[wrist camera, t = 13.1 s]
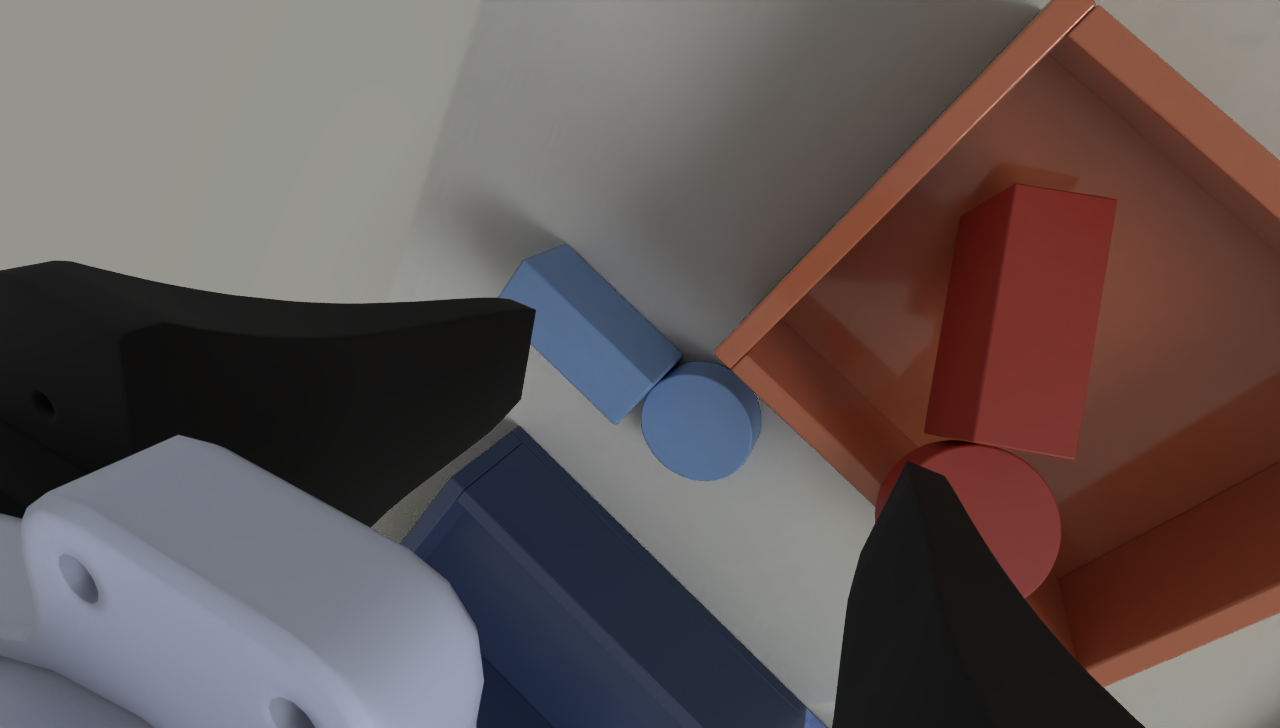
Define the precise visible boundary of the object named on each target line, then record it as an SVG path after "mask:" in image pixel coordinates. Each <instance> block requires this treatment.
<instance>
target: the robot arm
mask: <svg viewBox="0 0 1280 728" xmlns="http://www.w3.org/2000/svg"><path fill="white" fill-rule="evenodd" d="M535 314H536V309H533V308H531V307H528V306H526V305H524V304H521V303H519V302H516V301H514V300H511V299H505V298H468V299H451V300H435V301H419V302H396V303H367V304H336V303H334V304H333V303H311V302H310V303H309V302H293V301H283V300H274V299H264V298H253V297H245V296H236V295H228V294H222V293H215V292H209V291H203V290H197V289H191V288H186V287H180V286H174V285H169V284H164V283H159V282H154V281H150V280H145V279H141V278H137V277H133V276H128V275H124V274H120V273H115V272H112V271H107V270H103V269H99V268H95V267H90V266H86V265H83V264H79V263H75V262H70V261H50V262H44V263H39V264H34V265H28V266H23V267H17V268H12V269H7V270H1V271H0V728H476V721H477V716H478V711H479V705H480V700H481V694H482V689H483V684H484V677H483V669H482V661H481V653H480V646H479V638H478V632H477V628H476V625H475V624H474V622H473V620H472V619H471V617H470V615H469V614H468V612H467V610H466V609H465V607H464V606H463V604H462V602H461V601H460V599H459V597H458V596H457V594H456V593H455V591H454V589H453V588H452V586H451V584H450V583H449V581H447V580H446V579H445V578H444V577H442V576H441V575H440V574H439V573H438V572H436V571H435V570H434V569H433V568H431V567H430V566H429V565H428V564H427V563H425V562H424V561H423V560H422V559H420V558H419V557H418V556H417V555H416V554H414V553H413V552H412V551H411V550H409V549H408V548H406V547H405V546H403V545H401V544H399V543H397V542H395V541H394V540H392V539H390V538H388V537H386V536H385V535H383V534H381V533H379V532H377V531H375V530H374V529H372V528H371V527H372V526H373V525H374V524H375V523H376V522H377V521H378V520H379V519H380V518H381V517H382V516H383V515H384V514H385V513H386V512H387V511H388V510H390V509H391V508H392V507H393V506H394V505H395V504H397V503H398V502H399V501H400V500H402V499H403V498H404V497H405V496H406V495H408V494H409V493H410V492H411V491H413V490H414V489H415V488H417V487H418V486H419V485H421V484H422V483H423V482H425V481H426V480H427V479H429V478H430V477H431V476H433V475H434V474H435V473H437V472H438V471H439V470H441V469H442V468H443V467H445V466H446V465H447V464H449V463H450V462H451V461H453V460H454V459H455V458H457V457H458V456H459V455H461V454H462V453H463V452H464V451H466V450H467V449H468V448H470V447H471V446H472V445H474V444H475V443H476V442H477V441H479V440H480V439H481V438H483V437H484V436H485V435H486V434H488V433H489V432H490V431H491V430H492V429H493V428H494V427H495V426H496V425H497V424H498V423H499V422H500V421H501V420H502V419H503V418H504V417H505V416H506V415H507V414H508V413H509V412H510V410H511V409H512V408H513V407H514V406H515V405H516V404H517V403H518V402H519V401H520V400H521V395H522V389H523V384H524V378H525V372H526V366H527V361H528V355H529V349H530V343H531V338H532V332H533V326H534V320H535ZM832 728H1145V727H1144V726H1143V725H1142V724H1141V723H1140V722H1139V721H1137V720H1136V719H1135V718H1134V717H1133V716H1132V715H1131V714H1130V713H1129V712H1128V711H1127V710H1126V709H1125V708H1124V707H1123V706H1122V705H1121V704H1120V703H1119V702H1118V701H1117V700H1116V699H1115V698H1114V697H1113V696H1112V695H1111V694H1110V693H1109V692H1108V691H1107V690H1105V689H1104V688H1103V687H1102V686H1101V685H1100V684H1099V683H1098V682H1097V681H1096V680H1095V679H1094V678H1093V677H1092V676H1091V675H1090V674H1089V673H1088V672H1087V670H1086V669H1085V668H1084V667H1083V666H1082V665H1081V664H1080V663H1079V662H1078V661H1077V660H1076V659H1075V658H1074V657H1073V656H1072V655H1071V653H1070V652H1069V651H1068V650H1067V649H1066V648H1065V647H1064V645H1063V644H1062V643H1061V642H1060V641H1059V640H1058V639H1057V637H1056V636H1055V635H1054V634H1053V633H1052V632H1051V630H1050V629H1049V628H1048V627H1047V626H1046V625H1045V624H1044V622H1043V621H1042V620H1041V619H1040V618H1039V616H1038V615H1037V614H1036V613H1035V611H1034V610H1033V609H1032V608H1031V606H1030V605H1029V604H1028V603H1027V601H1026V600H1025V599H1024V597H1023V596H1022V595H1021V593H1020V592H1019V590H1018V589H1017V588H1016V586H1015V585H1014V584H1013V582H1012V581H1011V579H1010V578H1009V577H1008V575H1007V574H1006V573H1005V571H1004V570H1003V568H1002V567H1001V565H1000V564H999V562H998V561H997V559H996V558H995V556H994V555H993V553H992V552H991V550H990V549H989V547H988V546H987V544H986V543H985V541H984V539H983V538H982V536H981V535H980V533H979V531H978V530H977V528H976V526H975V525H974V523H973V522H972V520H971V518H970V516H969V515H968V513H967V511H966V510H965V508H964V506H963V505H962V503H961V501H960V500H959V498H958V496H957V494H956V493H955V491H954V489H953V488H952V486H951V484H950V483H949V481H948V480H947V478H946V477H945V476H944V475H942V474H939V473H937V472H934V471H932V470H929V469H927V468H924V467H922V466H919V465H917V464H914V463H912V462H910V461H907V462H906V464H905V466H904V468H903V470H902V472H901V474H900V476H899V478H898V480H897V482H896V483H895V485H894V487H893V489H892V491H891V493H890V495H889V497H888V499H887V501H886V503H885V505H884V507H883V509H882V511H881V513H880V515H879V517H878V519H877V521H876V523H875V525H874V527H873V529H872V531H871V533H870V535H869V537H868V539H867V541H866V543H865V545H864V547H863V549H862V551H861V553H860V557H859V561H858V564H857V568H856V571H855V575H854V579H853V582H852V586H851V590H850V594H849V598H848V603H847V610H846V618H845V626H844V634H843V643H842V651H841V660H840V668H839V677H838V686H837V694H836V703H835V711H834V719H833V725H832Z"/></svg>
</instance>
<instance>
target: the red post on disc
mask: <svg viewBox="0 0 1280 728" xmlns="http://www.w3.org/2000/svg"><path fill="white" fill-rule="evenodd" d="M1116 207H1117V199H1114V198H1108V197H1101V196H1095V195H1089V194H1082V193H1076V192H1070V191H1063V190H1057V189H1051V188H1044V187H1038V186H1031V185H1025V184H1019V183H1016V184H1013V185H1012V186H1010V187H1008V188H1007V189H1005V190H1003V191H1002V192H1000V193H998V194H996V195H995V196H993V197H991V198H990V199H988V200H986V201H985V202H983V203H981V204H980V205H978V206H976V207H975V208H973V209H971V210H970V211H968V212H966V213H964V214H963V215H961V216H960V219H959V225H958V231H957V237H956V243H955V249H954V255H953V261H952V267H951V273H950V279H949V285H948V290H947V296H946V302H945V308H944V314H943V320H942V326H941V332H940V338H939V344H938V350H937V356H936V362H935V368H934V373H933V379H932V385H931V391H930V397H929V403H928V409H927V415H926V421H925V427H924V433H925V434H930V435H935V436H940V437H946V438H951V439H956V440H944V441H937V442H933V443H929V444H926V445H923V446H921V447H919V448H917V449H915V450H913V451H911V452H910V453H908V454H907V455H906V456H904V457H903V458H902V459H900V460H899V461H898V462H897V463H896V465H895V466H894V467H893V468H892V469H891V470H890V472H889V473H888V475H887V476H886V478H885V480H884V482H883V483H882V486H881V488H880V491H879V493H878V498H877V502H876V509H875V523H876V521H877V519H878V517H879V515H880V513H881V511H882V509H883V507H884V505H885V503H886V501H887V499H888V497H889V495H890V493H891V491H892V489H893V487H894V485H895V483H896V482H897V480H898V478H899V476H900V474H901V472H902V470H903V468H904V466H905V464H906V462H907V461H910V462H912V463H914V464H917V465H919V466H922V467H924V468H927V469H929V470H932V471H934V472H937V473H939V474H942V475H944V476H945V477H946V478H947V480H948V481H949V483H950V484H951V486H952V488H953V489H954V491H955V493H956V494H957V496H958V498H959V500H960V501H961V503H962V505H963V506H964V508H965V510H966V511H967V513H968V515H969V516H970V518H971V520H972V522H973V523H974V525H975V526H976V528H977V530H978V531H979V533H980V535H981V536H982V538H983V539H984V541H985V543H986V544H987V546H988V547H989V549H990V550H991V552H992V553H993V555H994V556H995V558H996V559H997V561H998V562H999V564H1000V565H1001V567H1002V568H1003V570H1004V571H1005V573H1006V574H1007V575H1008V577H1009V578H1010V579H1011V581H1012V582H1013V584H1014V585H1015V586H1016V588H1017V589H1018V590H1019V592H1020V593H1021V595H1022V596H1023V597H1024V598H1026V597H1027V596H1029V595H1030V594H1031V593H1032V592H1034V591H1035V590H1036V589H1037V588H1038V587H1039V586H1040V585H1041V584H1042V582H1043V581H1044V580H1045V578H1046V577H1047V576H1048V574H1049V573H1050V571H1051V569H1052V567H1053V565H1054V563H1055V560H1056V558H1057V555H1058V551H1059V547H1060V540H1061V520H1060V515H1059V510H1058V507H1057V504H1056V500H1055V498H1054V496H1053V494H1052V492H1051V490H1050V488H1049V487H1048V485H1047V483H1046V482H1045V480H1044V479H1043V478H1042V477H1041V475H1040V474H1039V473H1038V472H1037V471H1036V470H1035V469H1034V468H1033V467H1032V466H1031V465H1030V464H1028V463H1027V462H1026V461H1024V460H1023V459H1022V458H1020V457H1018V456H1017V455H1015V454H1013V453H1011V452H1009V451H1006V450H1004V449H1001V448H1005V449H1011V450H1016V451H1022V452H1027V453H1033V454H1039V455H1044V456H1050V457H1055V458H1061V459H1067V460H1075V458H1076V452H1077V446H1078V440H1079V434H1080V427H1081V421H1082V415H1083V409H1084V403H1085V397H1086V391H1087V385H1088V378H1089V372H1090V366H1091V360H1092V354H1093V348H1094V342H1095V336H1096V329H1097V323H1098V317H1099V311H1100V305H1101V299H1102V293H1103V286H1104V280H1105V274H1106V268H1107V262H1108V256H1109V250H1110V244H1111V237H1112V231H1113V225H1114V219H1115V213H1116ZM998 447H1000V448H998Z"/></svg>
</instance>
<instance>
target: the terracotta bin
mask: <svg viewBox="0 0 1280 728" xmlns="http://www.w3.org/2000/svg"><path fill="white" fill-rule="evenodd" d="M1095 5H1096V3H1095V1H1094V0H1051V1H1050V2H1049V3H1048V4H1047V5H1046V6H1045V7H1043V8H1042V9H1041V10H1040V11H1039V12H1038V14H1037V15H1036V16H1035V17H1034V18H1033V19H1032V20H1031V21H1030V22H1029V23H1028V24H1027V25H1026V26H1025V27H1024V28H1023V29H1022V30H1021V31H1020V32H1019V33H1018V34H1017V35H1016V36H1015V37H1014V38H1013V39H1012V41H1011V42H1010V43H1009V44H1008V45H1007V46H1006V47H1005V48H1004V49H1003V50H1002V51H1001V52H1000V53H999V54H998V55H997V56H996V57H995V58H994V59H993V60H992V61H991V62H990V63H989V64H988V65H987V66H986V68H985V69H984V70H983V71H982V72H981V73H980V74H979V75H978V76H977V77H976V78H975V79H974V80H973V81H972V82H971V83H970V84H969V85H968V86H967V87H966V88H965V89H964V90H963V91H962V92H961V94H960V95H959V96H958V97H957V98H956V99H955V100H954V101H953V102H952V103H951V104H950V105H949V106H948V107H947V108H946V109H945V110H944V111H943V112H942V113H941V114H940V115H939V116H938V117H937V118H936V119H935V121H934V122H933V123H932V124H931V125H930V126H929V127H928V128H927V129H926V130H925V131H924V132H923V133H922V134H921V135H920V136H919V137H918V138H917V139H916V140H915V141H914V142H913V143H912V144H911V145H910V146H909V148H908V149H907V150H906V151H905V152H904V153H903V154H902V155H901V156H900V157H899V158H898V159H897V160H896V161H895V162H894V163H893V164H892V165H891V166H890V167H889V168H888V169H887V170H886V171H885V172H884V173H883V175H882V176H881V177H880V178H879V179H878V180H877V181H876V182H875V183H874V184H873V185H872V186H871V187H870V188H869V189H868V190H867V191H866V192H865V193H864V194H863V195H862V196H861V197H860V198H859V199H858V200H857V202H856V203H855V204H854V205H853V206H852V207H851V208H850V209H849V210H848V211H847V212H846V213H845V214H844V215H843V216H842V217H841V218H840V219H839V220H838V221H837V222H836V223H835V224H834V225H833V226H832V227H831V229H830V230H829V231H828V232H827V233H826V234H825V235H824V236H823V237H822V238H821V239H820V240H819V241H818V242H817V243H816V244H815V245H814V246H813V247H812V248H811V249H810V250H809V251H808V252H807V253H806V254H805V256H804V257H803V258H802V259H801V260H800V261H799V262H798V263H797V264H796V265H795V266H794V267H793V268H792V269H791V270H790V271H789V272H788V273H787V274H786V275H785V276H784V277H783V278H782V279H781V280H780V281H779V283H778V284H777V285H776V286H775V287H774V288H773V289H772V290H771V291H770V292H769V293H768V294H767V295H766V296H765V297H764V298H763V299H762V300H761V301H760V302H759V303H758V304H757V305H756V306H755V307H754V308H753V310H752V311H751V312H750V313H749V314H748V315H747V316H746V317H745V318H744V319H743V320H742V321H741V322H740V323H739V325H738V326H737V327H736V328H735V329H734V330H733V331H732V332H731V333H730V334H729V335H728V336H727V337H726V338H725V339H724V341H723V342H722V343H721V344H720V345H719V346H718V347H717V348H716V349H715V350H714V355H716V356H717V357H718V358H719V359H720V360H721V361H722V362H723V363H724V364H725V365H726V366H727V367H728V368H732V371H733V372H734V373H735V374H736V375H737V376H738V377H739V378H740V379H741V380H742V381H743V382H744V383H745V384H746V385H747V386H748V387H749V388H750V389H751V390H753V391H754V392H755V393H756V394H757V395H758V396H759V397H760V398H761V399H762V400H763V401H764V402H765V403H766V404H767V405H768V406H769V407H770V408H772V409H773V410H774V411H775V412H776V413H777V414H778V415H779V416H780V417H781V418H782V419H783V420H784V421H785V422H786V423H787V424H788V425H789V426H791V427H792V428H793V429H794V430H795V431H796V432H797V433H798V434H799V435H800V436H801V437H802V438H803V439H804V440H805V441H806V442H807V443H808V444H810V445H811V446H812V447H813V448H814V449H815V450H816V451H817V452H818V453H819V454H820V455H821V456H822V457H823V458H824V459H825V460H826V461H827V462H829V463H830V464H831V465H832V466H833V467H834V468H835V469H836V470H837V471H838V472H839V473H840V474H841V475H842V476H843V477H844V478H845V479H846V480H847V481H849V482H850V483H851V484H852V485H853V486H854V487H855V488H856V489H857V490H858V491H859V492H860V493H861V494H862V495H863V496H864V497H865V498H866V499H868V500H869V501H870V502H871V503H872V504H873V505H874V506H875V507H876V502H877V498H878V493H879V491H880V488H881V486H882V483H883V482H884V480H885V478H886V476H887V475H888V473H889V472H890V470H891V469H892V468H893V467H894V466H895V465H896V463H897V462H898V461H899V460H900V459H902V458H903V457H904V456H906V455H907V454H908V453H910V452H911V451H913V450H915V449H917V448H919V447H921V446H923V445H926V444H929V443H933V442H937V441H944V440H956V439H951V438H946V437H940V436H935V435H930V434H925V433H924V427H925V421H926V415H927V409H928V403H929V397H930V391H931V385H932V379H933V373H934V368H935V362H936V356H937V350H938V344H939V338H940V332H941V326H942V320H943V314H944V308H945V302H946V296H947V290H948V285H949V279H950V273H951V267H952V261H953V255H954V249H955V243H956V237H957V231H958V225H959V219H960V216H961V215H963V214H964V213H966V212H968V211H970V210H971V209H973V208H975V207H976V206H978V205H980V204H981V203H983V202H985V201H986V200H988V199H990V198H991V197H993V196H995V195H996V194H998V193H1000V192H1002V191H1003V190H1005V189H1007V188H1008V187H1010V186H1012V185H1013V184H1016V183H1019V184H1025V185H1031V186H1038V187H1044V188H1051V189H1057V190H1063V191H1070V192H1076V193H1082V194H1089V195H1095V196H1101V197H1108V198H1114V199H1117V207H1116V213H1115V219H1114V225H1113V231H1112V237H1111V244H1110V250H1109V256H1108V262H1107V268H1106V274H1105V280H1104V286H1103V293H1102V299H1101V305H1100V311H1099V317H1098V323H1097V329H1096V336H1095V342H1094V348H1093V354H1092V360H1091V366H1090V372H1089V378H1088V385H1087V391H1086V397H1085V403H1084V409H1083V415H1082V421H1081V427H1080V434H1079V440H1078V446H1077V452H1076V458H1075V460H1067V459H1061V458H1055V457H1050V456H1044V455H1039V454H1033V453H1027V452H1022V451H1016V450H1011V449H1005V448H1001V449H1004V450H1006V451H1009V452H1011V453H1013V454H1015V455H1017V456H1018V457H1020V458H1022V459H1023V460H1024V461H1026V462H1027V463H1028V464H1030V465H1031V466H1032V467H1033V468H1034V469H1035V470H1036V471H1037V472H1038V473H1039V474H1040V475H1041V477H1042V478H1043V479H1044V480H1045V482H1046V483H1047V485H1048V487H1049V488H1050V490H1051V492H1052V494H1053V496H1054V498H1055V500H1056V504H1057V507H1058V510H1059V515H1060V520H1061V540H1060V547H1059V551H1058V555H1057V558H1056V560H1055V563H1054V565H1053V567H1052V569H1051V571H1050V573H1049V574H1048V576H1047V577H1046V578H1045V580H1044V581H1043V582H1042V584H1041V585H1040V586H1039V587H1038V588H1037V589H1036V590H1035V591H1034V592H1032V593H1031V594H1030V595H1029V596H1027V597H1026V598H1024V599H1025V600H1026V601H1027V603H1028V604H1029V605H1030V606H1031V608H1032V609H1033V610H1034V611H1035V613H1036V614H1037V615H1038V616H1039V618H1040V619H1041V620H1042V621H1043V622H1044V624H1045V625H1046V626H1047V627H1048V628H1049V629H1050V630H1051V632H1052V633H1053V634H1054V635H1055V636H1056V637H1057V639H1058V640H1059V641H1060V642H1061V643H1062V644H1063V645H1064V647H1065V648H1066V649H1067V650H1068V651H1069V652H1070V653H1071V655H1072V656H1073V657H1074V658H1075V659H1076V660H1077V661H1078V662H1079V663H1080V664H1081V665H1082V666H1083V667H1084V668H1085V669H1086V670H1087V672H1088V673H1089V674H1090V675H1091V676H1092V677H1093V678H1094V679H1095V680H1096V681H1097V682H1098V683H1099V684H1100V685H1101V686H1102V687H1106V686H1108V685H1110V684H1113V683H1115V682H1117V681H1120V680H1122V679H1125V678H1127V677H1129V676H1132V675H1134V674H1136V673H1139V672H1141V671H1143V670H1146V669H1148V668H1151V667H1153V666H1155V665H1158V664H1160V663H1162V662H1165V661H1167V660H1169V659H1172V658H1174V657H1177V656H1179V655H1181V654H1184V653H1186V652H1188V651H1191V650H1193V649H1195V648H1198V647H1200V646H1203V645H1205V644H1207V643H1210V642H1212V641H1214V640H1217V639H1219V638H1221V637H1224V636H1226V635H1229V634H1231V633H1233V632H1236V631H1238V630H1240V629H1243V628H1245V627H1248V626H1250V625H1252V624H1255V623H1257V622H1259V621H1262V620H1264V619H1266V618H1269V617H1271V616H1274V615H1276V614H1278V613H1280V160H1278V159H1277V158H1276V157H1275V156H1274V155H1273V154H1271V153H1270V152H1269V151H1268V150H1267V149H1266V148H1264V147H1263V146H1262V145H1261V144H1260V143H1259V142H1258V141H1256V140H1255V139H1254V138H1253V137H1252V136H1251V135H1249V134H1248V133H1247V132H1246V131H1245V130H1244V129H1242V128H1241V127H1240V126H1239V125H1238V124H1237V123H1236V122H1234V121H1233V120H1232V119H1231V118H1230V117H1229V116H1227V115H1226V114H1225V113H1224V112H1223V111H1222V110H1220V109H1219V108H1218V107H1217V106H1216V105H1215V104H1214V103H1212V102H1211V101H1210V100H1209V99H1208V98H1207V97H1205V96H1204V95H1203V94H1202V93H1201V92H1200V91H1198V90H1197V89H1196V88H1195V87H1194V86H1193V85H1192V84H1190V83H1189V82H1188V81H1187V80H1186V79H1185V78H1183V77H1182V76H1181V75H1180V74H1179V73H1178V72H1176V71H1175V70H1174V69H1173V68H1172V67H1171V66H1170V65H1168V64H1167V63H1166V62H1165V61H1164V60H1163V59H1161V58H1160V57H1159V56H1158V55H1157V54H1156V53H1154V52H1153V51H1152V50H1151V49H1150V48H1149V47H1148V46H1146V45H1145V44H1144V43H1143V42H1142V41H1141V40H1139V39H1138V38H1137V37H1136V36H1135V35H1134V34H1132V33H1131V32H1130V31H1129V30H1128V29H1127V28H1126V27H1124V26H1123V25H1122V24H1121V23H1120V22H1119V21H1117V20H1116V19H1115V18H1114V17H1113V16H1112V15H1110V14H1109V13H1108V12H1107V11H1106V10H1105V9H1104V8H1102V7H1101V6H1099V5H1097V6H1095ZM998 448H1000V447H998Z"/></svg>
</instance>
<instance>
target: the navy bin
mask: <svg viewBox="0 0 1280 728" xmlns="http://www.w3.org/2000/svg"><path fill="white" fill-rule="evenodd" d="M400 544H401V545H403V546H405V547H406V548H408V549H409V550H411V551H412V552H413V553H414V554H416V555H417V556H418V557H419V558H420V559H422V560H423V561H424V562H425V563H427V564H428V565H429V566H430V567H431V568H433V569H434V570H435V571H436V572H438V573H439V574H440V575H441V576H442V577H444V578H445V579H446V580H447V581H449V583H450V584H451V586H452V588H453V589H454V591H455V593H456V594H457V596H458V597H459V599H460V601H461V602H462V604H463V606H464V607H465V609H466V610H467V612H468V614H469V615H470V617H471V619H472V620H473V622H474V624H475V625H476V628H477V632H478V638H479V646H480V653H481V661H482V669H483V677H484V684H483V689H482V694H481V700H480V705H479V711H478V716H477V721H476V728H827V727H826V726H825V725H824V724H823V723H821V722H820V721H819V720H818V719H817V718H816V717H815V716H814V715H813V714H812V713H811V712H810V711H809V710H808V709H807V708H806V707H805V706H804V705H803V704H802V703H801V702H800V701H799V700H798V699H797V698H796V697H795V696H794V695H793V694H792V693H791V692H790V691H789V690H788V689H787V688H786V687H785V686H784V685H783V684H782V683H781V682H780V681H779V680H778V679H777V678H776V677H775V676H774V675H773V674H772V673H770V672H769V671H768V670H767V669H766V668H765V667H764V666H763V665H762V664H761V663H760V662H759V661H758V660H757V659H756V658H755V657H754V656H753V655H752V654H751V653H750V652H749V651H748V650H747V649H746V648H745V647H744V646H743V645H742V644H741V643H740V642H739V641H738V640H737V639H736V638H735V637H734V636H733V635H732V634H731V633H730V632H729V631H728V630H727V629H726V628H725V627H724V626H723V625H722V624H721V623H719V622H718V621H717V620H716V619H715V618H714V617H713V616H712V615H711V614H710V613H709V612H708V611H707V610H706V609H705V608H704V607H703V606H702V605H701V604H700V603H699V602H698V601H697V600H696V599H695V598H694V597H693V596H692V595H691V594H690V593H689V592H688V591H687V590H686V589H685V588H684V587H683V586H682V585H681V584H680V583H679V582H678V581H677V580H676V579H675V578H674V577H673V576H672V575H671V574H670V573H668V572H667V571H666V570H665V569H664V568H663V567H662V566H661V565H660V564H659V563H658V562H657V561H656V560H655V559H654V558H653V557H652V556H651V555H650V554H649V553H648V552H647V551H646V550H645V549H644V548H643V547H642V546H641V545H640V544H639V543H638V542H637V541H636V540H635V539H634V538H633V537H632V536H631V535H630V534H629V533H628V532H627V531H626V530H625V529H624V528H623V527H622V526H621V525H620V524H619V523H617V522H616V521H615V520H614V519H613V518H612V517H611V516H610V515H609V514H608V513H607V512H606V511H605V510H604V509H603V508H602V507H601V506H600V505H599V504H598V503H597V502H596V501H595V500H594V499H593V498H592V497H591V496H590V495H589V494H588V493H587V492H586V491H585V490H584V489H583V488H582V487H581V486H580V485H579V484H578V483H577V482H576V481H575V480H574V479H573V478H572V477H571V476H570V475H569V474H568V473H567V472H565V471H564V470H563V469H562V468H561V467H560V466H559V465H558V464H557V463H556V462H555V461H554V460H553V459H552V458H551V457H550V456H549V455H548V454H547V453H546V452H545V451H544V450H543V449H542V448H541V447H540V446H539V445H538V444H537V443H536V442H535V441H534V440H533V439H532V438H531V437H530V436H529V435H528V434H527V433H526V432H525V431H524V430H523V429H522V428H521V427H519V426H518V427H517V428H515V429H514V430H513V431H511V433H509V434H507V435H506V436H505V437H503V438H502V439H501V440H499V441H498V442H497V443H496V444H494V445H493V446H492V447H490V448H489V449H488V450H486V451H485V452H484V453H482V454H481V455H480V456H478V457H477V458H476V459H474V460H473V461H472V462H470V463H469V464H468V465H466V466H465V467H464V468H463V469H461V470H460V471H459V472H457V473H456V474H455V475H453V476H452V477H451V478H450V479H449V480H448V482H447V483H446V484H445V486H444V487H443V488H442V490H441V491H440V492H439V493H438V495H437V496H436V497H435V499H434V500H433V501H432V503H431V504H430V505H429V507H428V508H427V509H426V510H425V512H424V513H423V514H422V516H421V517H420V518H419V520H418V521H417V522H416V523H415V525H414V526H413V527H412V529H411V530H410V531H409V533H408V534H407V535H406V536H405V538H404V539H403V540H402V542H401V543H400Z"/></svg>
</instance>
